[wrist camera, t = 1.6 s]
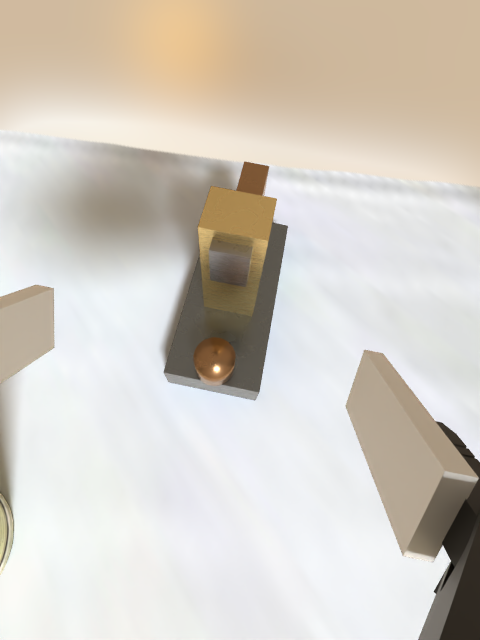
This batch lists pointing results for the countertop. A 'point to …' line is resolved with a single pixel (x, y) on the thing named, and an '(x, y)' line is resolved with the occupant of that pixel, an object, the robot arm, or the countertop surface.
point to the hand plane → (228, 322)
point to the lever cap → (233, 248)
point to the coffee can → (5, 532)
